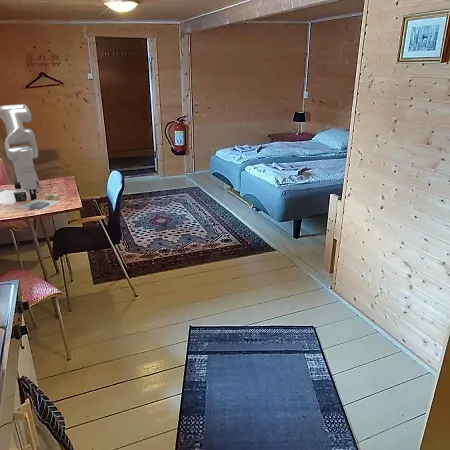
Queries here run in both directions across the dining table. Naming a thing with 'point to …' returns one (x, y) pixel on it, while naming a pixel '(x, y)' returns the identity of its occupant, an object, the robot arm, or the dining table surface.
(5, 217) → the dining table surface
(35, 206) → the tile
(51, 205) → the mat
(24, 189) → the robot arm
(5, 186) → the dining table surface
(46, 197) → the turner
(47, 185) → the dining table surface
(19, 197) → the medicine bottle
